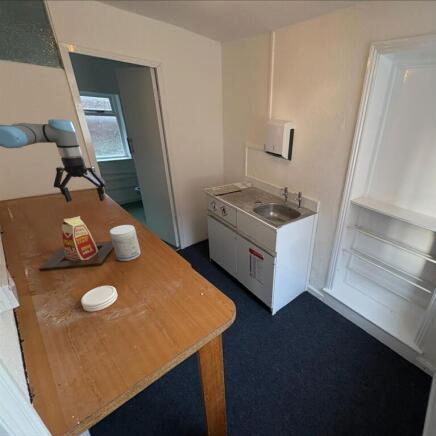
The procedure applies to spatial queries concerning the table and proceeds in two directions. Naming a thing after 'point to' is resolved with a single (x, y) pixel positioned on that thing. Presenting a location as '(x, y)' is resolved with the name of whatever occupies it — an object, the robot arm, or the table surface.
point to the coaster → (99, 298)
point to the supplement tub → (125, 242)
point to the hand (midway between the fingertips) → (86, 200)
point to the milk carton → (77, 240)
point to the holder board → (98, 260)
